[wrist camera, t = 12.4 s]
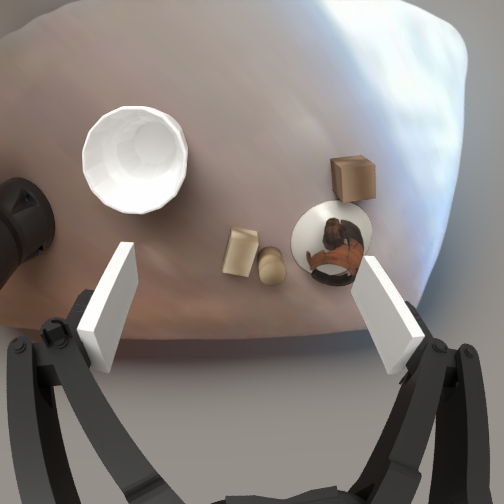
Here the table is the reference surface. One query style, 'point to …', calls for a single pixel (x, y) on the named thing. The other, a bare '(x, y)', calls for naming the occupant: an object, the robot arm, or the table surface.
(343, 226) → the pottery mug
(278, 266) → the oak dowel offcut
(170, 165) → the cup
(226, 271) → the maple block
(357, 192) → the walnut block
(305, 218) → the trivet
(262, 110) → the table surface
